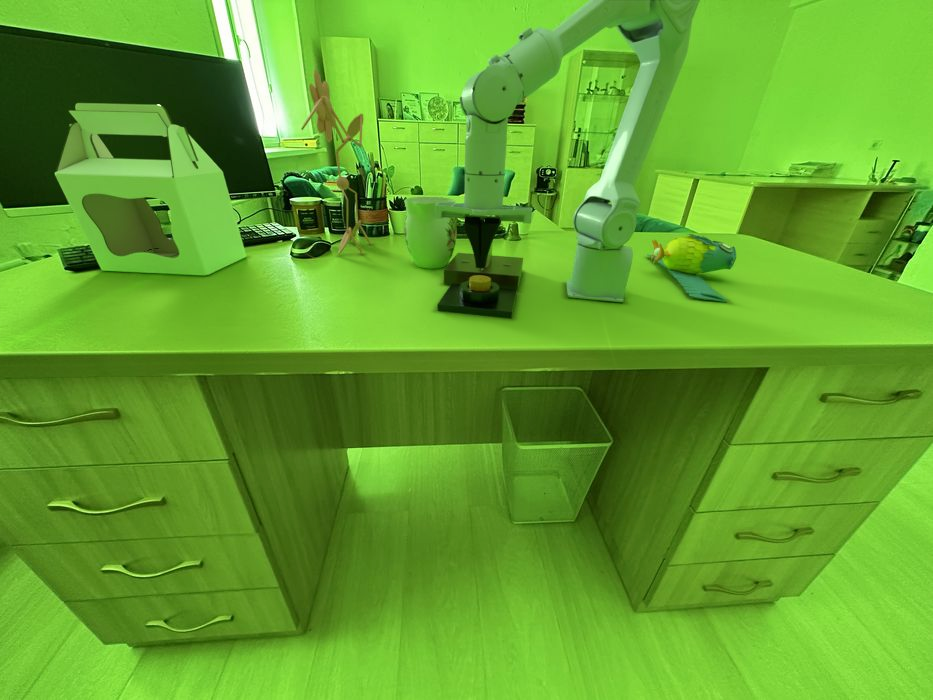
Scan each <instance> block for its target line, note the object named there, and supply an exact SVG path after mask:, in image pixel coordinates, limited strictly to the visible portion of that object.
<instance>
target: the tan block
mask: <svg viewBox="0 0 933 700" xmlns="http://www.w3.org/2000/svg"><path fill="white" fill-rule="evenodd" d="M493 244H494V240H493V241H492V244H491V247H490V250H489V253H488V257H487V262H486V266H485V267H488V266H489V264H490V262H491V260H492V255H493V246H494V245H493Z"/></svg>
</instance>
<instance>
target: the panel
mask: <svg viewBox="0 0 933 700" xmlns="http://www.w3.org/2000/svg"><path fill="white" fill-rule="evenodd" d="M523 266H524V257H520V256H519V257H517V256H507V255H506V256H504V255H494V254H492V260H491V262H490V264H489V266H488V267H485V268H476V264H475V258H474V253H465V252H457V253H456V254H455V256H454V257H453V258H451V259H450V261H449V262H448V263H447V264H446V266H445V267H444V269H443V285H444V286H450V285H451V284H462V283H463V282H466V281H469V278H470V277H471V276H475V275H484V276H488V277H490V278H491V282H494V283H496V284H497V285H499V286H500V288H506V289H517V292H518V291H519V286H520V283H521V277H522V274H523Z"/></svg>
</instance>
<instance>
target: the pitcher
mask: <svg viewBox="0 0 933 700" xmlns="http://www.w3.org/2000/svg"><path fill="white" fill-rule="evenodd" d="M403 201H404V205H405V210H406V216H405V221H404V228H403V229H404V240H405V245H406V247H407V250H408V254H409V256H410V257H411V260H412V261H413V262H414V263H415V264H416V267H419V268H422V269H428V270H429V269H430V270H431V269H433V270H434V269H441V268H445V267H447V265H448V264H449V263H450V261H451V259H452V257H453V254H454V251H455V248H456V243H457V234H458V232H457V231H458V230H457V229H458V228H457V222H456V218H435V205H436V204H437V203H456V200H455V199H453V198H450V197H442V196H441V197H440V196H416V197H414V196H413V197H408V198H405V199H404V200H403Z"/></svg>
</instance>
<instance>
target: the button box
mask: <svg viewBox="0 0 933 700" xmlns="http://www.w3.org/2000/svg"><path fill="white" fill-rule="evenodd" d="M517 295H518V291H517V289H506V288H500V286H499V285H497V284H496V283H494V282H491V289H490V290H487V291H475V290H471V289H469V281H466V282H463V283H462V284H451V285H449V287H448V288H447V289H446V291H445V293H444V294H443V295H442V297H441V299H440V300H439V301H438V302H437V312H444V313H445V312H446V313H453V314H464V315H472V316H473V315H474V316H483V317H493V318H502V319H512V318H513V313H514V310H515V304H516V302H517V301H516V299H517Z"/></svg>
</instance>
